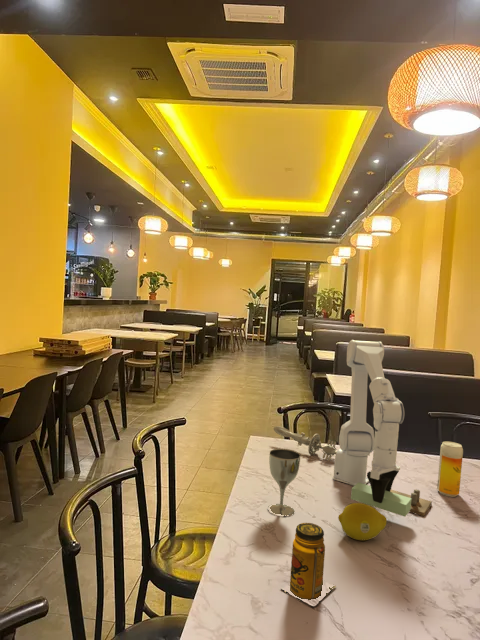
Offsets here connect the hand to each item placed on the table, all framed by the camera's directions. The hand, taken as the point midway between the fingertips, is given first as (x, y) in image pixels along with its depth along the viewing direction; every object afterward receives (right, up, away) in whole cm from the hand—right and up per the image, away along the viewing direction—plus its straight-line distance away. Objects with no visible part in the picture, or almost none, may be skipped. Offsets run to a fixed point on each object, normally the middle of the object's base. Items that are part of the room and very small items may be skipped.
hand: (381, 498), depth 116 cm
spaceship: (-10, -3, +45) cm, 46 cm away
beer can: (+26, -6, +18) cm, 32 cm away
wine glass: (-26, -3, 0) cm, 26 cm away
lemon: (-8, -5, -11) cm, 15 cm away
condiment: (-24, -5, -31) cm, 39 cm away
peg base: (+8, -5, +10) cm, 14 cm away
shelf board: (0, -2, 0) cm, 2 cm away
